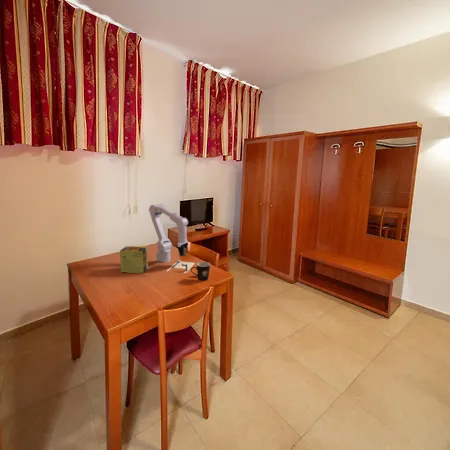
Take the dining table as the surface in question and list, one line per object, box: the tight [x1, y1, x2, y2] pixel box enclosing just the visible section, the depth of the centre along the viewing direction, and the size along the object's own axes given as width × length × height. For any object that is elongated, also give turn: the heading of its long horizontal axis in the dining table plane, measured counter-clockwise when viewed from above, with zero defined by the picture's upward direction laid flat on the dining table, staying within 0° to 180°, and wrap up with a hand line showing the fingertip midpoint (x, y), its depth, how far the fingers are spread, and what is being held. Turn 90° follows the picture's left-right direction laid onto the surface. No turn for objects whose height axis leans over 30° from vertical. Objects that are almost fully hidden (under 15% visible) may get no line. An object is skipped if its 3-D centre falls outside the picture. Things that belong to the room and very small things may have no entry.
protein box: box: [119, 245, 149, 274], centre depth 174 cm, size 10×15×16 cm
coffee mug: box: [190, 261, 211, 282], centre depth 163 cm, size 12×9×10 cm
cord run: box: [172, 259, 182, 269], centre depth 183 cm, size 2×12×2 cm, turn 169°
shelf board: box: [166, 261, 196, 274], centre depth 179 cm, size 14×20×2 cm
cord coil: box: [179, 248, 187, 257], centre depth 180 cm, size 5×5×5 cm
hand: (182, 254), depth 180 cm, fingers closed on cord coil, 5 cm apart
